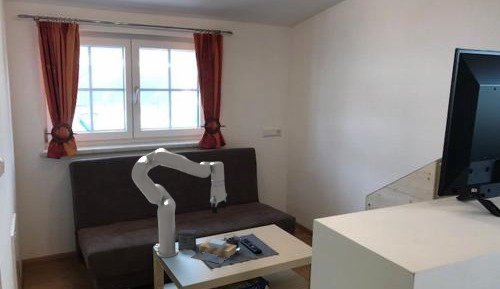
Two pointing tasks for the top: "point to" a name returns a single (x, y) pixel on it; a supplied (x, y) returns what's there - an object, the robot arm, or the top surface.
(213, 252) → the deck
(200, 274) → the top surface
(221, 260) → the mat
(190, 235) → the small box
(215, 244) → the grey flat block
